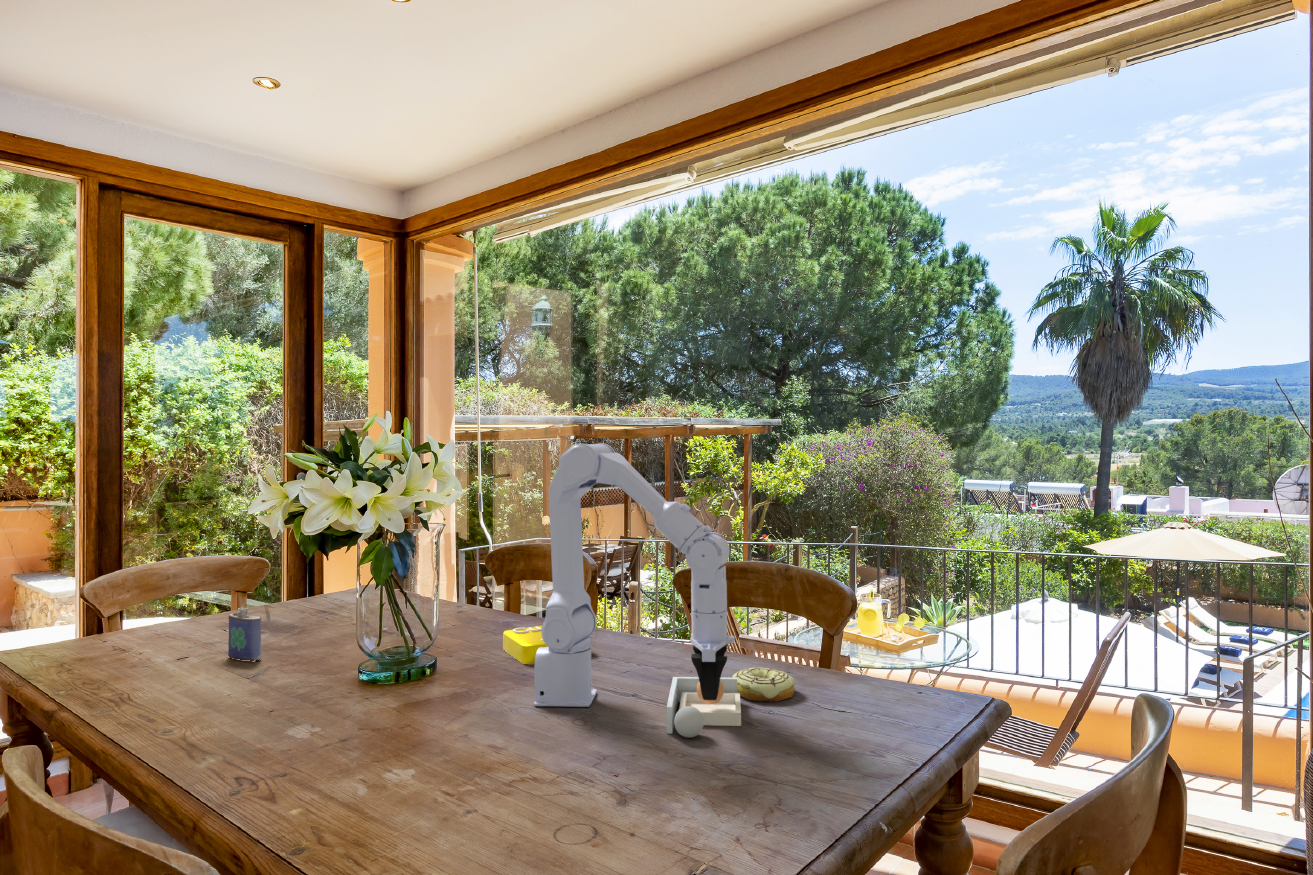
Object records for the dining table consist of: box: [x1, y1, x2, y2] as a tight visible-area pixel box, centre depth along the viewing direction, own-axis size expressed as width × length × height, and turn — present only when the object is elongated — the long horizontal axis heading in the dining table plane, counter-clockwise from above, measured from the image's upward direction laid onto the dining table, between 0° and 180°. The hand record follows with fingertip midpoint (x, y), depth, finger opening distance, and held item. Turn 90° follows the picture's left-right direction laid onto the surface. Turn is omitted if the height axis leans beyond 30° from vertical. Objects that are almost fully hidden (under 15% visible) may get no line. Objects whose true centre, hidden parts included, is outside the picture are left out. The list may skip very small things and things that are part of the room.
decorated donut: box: [731, 666, 796, 702], centre depth 135 cm, size 10×11×4 cm
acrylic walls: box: [666, 676, 737, 735], centre depth 124 cm, size 11×15×4 cm
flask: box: [227, 607, 262, 661], centre depth 161 cm, size 9×3×11 cm, turn 61°
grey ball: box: [674, 706, 705, 739], centre depth 116 cm, size 4×4×4 cm
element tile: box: [502, 625, 548, 665], centre depth 164 cm, size 15×15×5 cm
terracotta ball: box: [697, 680, 724, 704], centre depth 125 cm, size 4×4×4 cm
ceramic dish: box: [678, 692, 742, 727], centre depth 125 cm, size 10×10×2 cm
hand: (710, 694), depth 125 cm, fingers closed on terracotta ball, 4 cm apart
